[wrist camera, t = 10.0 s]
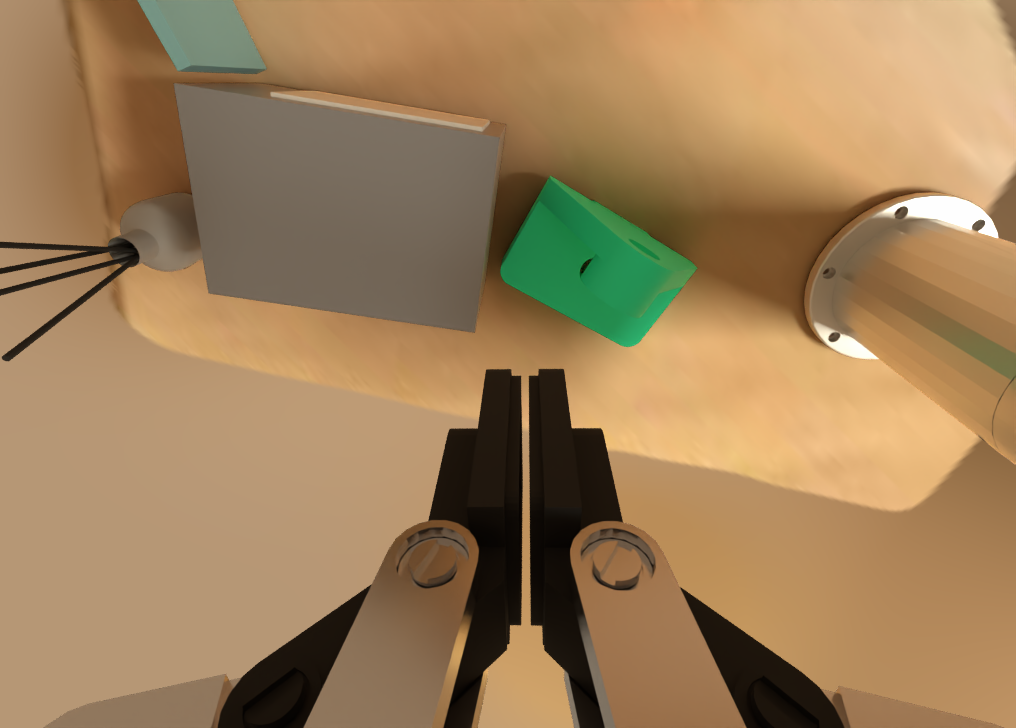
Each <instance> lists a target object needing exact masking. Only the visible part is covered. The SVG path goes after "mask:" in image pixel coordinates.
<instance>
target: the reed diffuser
mask: <svg viewBox="0 0 1016 728" xmlns="http://www.w3.org/2000/svg"><path fill="white" fill-rule="evenodd" d="M120 232H121V235H120V236H118V237H115V238H113V239H111V240H110V241H109V243H108V247H98V246H77V245H56V244H54V245H53V244H35V243H14V242H0V248H19V249H48V250H76V251H78V250H79V251H87V252H82V253H77V254H72V255H66V256H62V257H57V258H51V259H46V260H41V261H36V262H30V263H25V264H20V265H15V266H10V267H5V268H0V274H3V273H8V272H13V271H18V270H22V269H28V268H32V267H37V266H42V265H47V264H52V263H57V262H62V261H67V260H72V259H76V258H81V257H87V256H92V255H97V254H102V253H107V252H109V253H110V255H111V257H112V258H113V259H114V260H111V261H107V262H104V263H100V264H96V265H92V266H88V267H84V268H81V269H77V270H73V271H69V272H65V273H62V274H58V275H54V276H50V277H46V278H42V279H38V280H35V281H31V282H27V283H23V284H19V285H16V286H12V287H8V288H4V289H0V296H1V295H4V294H8V293H11V292H15V291H19V290H23V289H26V288H30V287H33V286H37V285H41V284H45V283H48V282H52V281H56V280H59V279H63V278H66V277H70V276H74V275H77V274H81V273H85V272H89V271H92V270H96V269H100V268H104V267H107V266H111V265H115V264H118V263H119V264H121V265H122V266H121V267H120V268H118V269H117V270H116V271H115V272H113V273H112V274H111V275H109V276H108V277H107V278H105V279H104V280H103V281H101V282H100V283H99V284H98V285H96V286H95V287H93V288H92V289H91V290H90V291H88V292H87V293H85V294H84V295H83V296H81V297H80V298H79V299H78V300H76V301H75V302H74V303H73V304H71V305H70V306H68V307H67V308H66V309H64V310H63V311H62V312H60V313H59V314H58V315H56V316H55V317H54V318H53V319H51V320H50V321H48V322H47V323H46V324H44V325H43V326H42V327H41V328H39V329H38V330H37V331H35V332H34V333H33V334H31V335H30V336H29V337H28V338H26V339H25V340H23V341H22V342H21V343H19V344H18V345H17V346H15V347H14V348H13V349H11V350H10V351H9V352H7V353H6V354H5V355H4V356H2V359H3V360H5V361H10V360H11V359H12V358H14V357H15V356H16V355H18V354H19V353H20V352H21V351H23V350H24V349H25V348H26V347H28V346H29V345H30V344H31V343H33V342H34V341H35V340H37V339H38V338H39V337H41V336H42V335H43V334H44V333H45V332H47V331H48V330H49V329H51V328H52V327H53V326H55V325H56V324H57V323H58V322H60V321H61V320H62V319H63V318H65V317H66V316H67V315H68V314H70V313H71V312H72V311H74V310H75V309H76V308H77V307H79V306H80V305H81V304H83V303H84V302H85V301H86V300H87V299H89V298H90V297H92V296H93V295H94V294H95V293H97V292H98V291H99V290H101V289H102V288H103V287H104V286H106V285H107V284H108V283H109V282H111V281H112V280H113V279H115V278H116V277H117V276H118V275H120V274H121V273H122V272H123V271H125V270H126V269H127V268H129V267H134V266H136V265H138V264H141V263H143V264H144V265H146V266H148V267H150V268H153V269H156V270H160V271H178V270H182V269H185V268H187V267H189V266H191V265H192V264H194V263H196V262H197V261H199V260H201V259H202V258H203V256H202V250H201V244H200V238H199V232H198V226H197V220H196V214H195V208H194V202H193V196H192V195H190V194H186V193H171V194H167V195H163V196H159V197H154V198H150V199H146V200H143V201H140V202H138V203H136V204H134V205H132V206H130V207H129V208H128V209H127V210H126V211H125V213H124V214H123V216H122V218H121V222H120Z"/></svg>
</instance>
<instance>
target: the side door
mask: <svg viewBox="0 0 1016 728" xmlns="http://www.w3.org/2000/svg"><path fill="white" fill-rule="evenodd" d="M137 1H138V3H139V4H140V6H141V8H142V10H143V11H144V13H145V15H146V17H147V18H148V20H149V22H150V24H151V25H152V27H153V29H154V31H155V32H156V34H157V36H158V38H159V39H160V41H161V43H162V45H163V46H164V48H165V50H166V51H167V53H168V55H169V57H170V58H171V60H172V62H173V64H174V65H175V67H176V69H177V71H183V72H212V73H241V74H257V73H260V72H262V71H264V70H266V69H267V68H266V66H265V64H264V62H263V60H262V58H261V56H260V54H259V52H258V50H257V48H256V46H255V44H254V42H253V40H252V38H251V36H250V34H249V32H248V30H247V28H246V26H245V24H244V22H243V20H242V18H241V16H240V14H239V12H238V10H237V8H236V6H235V4H234V2H233V0H137Z"/></svg>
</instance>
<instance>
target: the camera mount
mask: <svg viewBox="0 0 1016 728" xmlns="http://www.w3.org/2000/svg"><path fill="white" fill-rule="evenodd" d="M591 258H593V259H592V260H591V262H590V263H589V265H588V266H587V268H586V269H585V271H584V272H583V274H582V273H581V272H580V269H581V267H582V265H583V264H584V263H585V262H586V261H587V260H589V259H591ZM696 270H697V267H696V266H695V265H694V264H693V263H692V262H691V261H690V260H688V259H687V258H685V257H683V256H682V255H680V254H678V253H677V252H675V251H673V250H672V249H670V248H669V247H667V246H665V245H664V244H662V243H660V242H659V241H657V240H655V239H654V238H652V237H650V235H649V234H648V233H647V232H645V231H643V230H642V229H640V228H639V227H637V226H635V225H634V224H632V223H630V222H629V221H627V220H625V219H624V218H622V217H621V216H619V215H617V214H616V213H614V212H612V211H611V210H609V209H607V208H606V207H604V206H602V205H601V204H599V203H598V202H596V201H594V200H593V201H591V200H590V199H588V198H586V197H585V196H583V195H582V194H580V193H578V192H577V191H575V190H573V189H572V188H570V187H568V186H567V185H565V184H564V183H562V182H560V181H559V180H557V179H555V178H554V177H552V176H549V178H548V180H547V182H546V183H545V185H544V187H543V189H542V190H541V192H540V194H539V196H538V197H537V199H536V201H535V203H534V205H533V206H532V208H531V210H530V212H529V213H528V215H527V217H526V219H525V220H524V222H523V224H522V226H521V227H520V229H519V231H518V233H517V234H516V236H515V238H514V240H513V241H512V243H511V245H510V247H509V248H508V250H507V252H506V254H505V255H504V257H503V259H502V263H501V270H500V273H501V277H502V279H503V280H504V282H505V283H507V284H508V285H510V286H512V287H514V288H516V289H518V290H519V291H521V292H523V293H525V294H527V295H529V296H531V297H532V298H534V299H536V300H538V301H540V302H542V303H544V304H545V305H547V306H549V307H551V308H553V309H555V310H556V311H558V312H560V313H562V314H564V315H566V316H568V317H569V318H571V319H573V320H575V321H577V322H579V323H581V324H582V325H584V326H586V327H588V328H590V329H592V330H593V331H595V332H597V333H599V334H601V335H603V336H605V337H606V338H608V339H610V340H612V341H614V342H616V343H617V344H619V345H621V346H624V347H630V346H634V345H636V344H638V343H639V342H640V341H641V339H642V338H643V337H644V336H645V334H646V333H647V332H648V331H649V329H650V328H651V327H652V325H653V324H654V323H655V322H656V320H657V319H658V318H659V317H660V315H661V314H662V313H663V312H664V310H665V309H666V308H667V306H668V305H669V304H670V303H671V301H672V300H673V299H674V298H675V296H676V295H677V294H678V292H679V291H680V290H681V289H682V287H683V286H684V285H685V284H686V282H687V281H688V280H689V279H690V277H691V276H692V275H693V273H694V272H695V271H696Z"/></svg>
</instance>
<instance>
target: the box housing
mask: <svg viewBox="0 0 1016 728" xmlns="http://www.w3.org/2000/svg"><path fill="white" fill-rule="evenodd" d="M174 89H175V95H176V101H177V107H178V113H179V119H180V125H181V131H182V137H183V143H184V149H185V155H186V161H187V167H188V173H189V179H190V185H191V190H192V196H193V202H194V208H195V214H196V220H197V226H198V232H199V238H200V244H201V250H202V256H203V262H204V268H205V274H206V280H207V286H208V292H209V293H210V294H216V295H223V296H230V297H237V298H243V299H250V300H257V301H264V302H270V303H277V304H284V305H291V306H298V307H304V308H311V309H318V310H325V311H331V312H338V313H345V314H352V315H358V316H365V317H372V318H379V319H385V320H392V321H399V322H406V323H412V324H419V325H426V326H433V327H440V328H446V329H453V330H460V331H467V332H473V333H475V329H476V324H477V319H478V315H479V310H480V305H481V300H482V295H483V290H484V286H485V281H486V273H487V265H488V258H489V250H490V243H491V235H492V228H493V220H494V213H495V205H496V197H497V190H498V182H499V175H500V167H501V160H502V152H503V145H504V137H505V129H506V124H501V123H495V122H490V120H487V119H481V118H475V117H469V116H463V115H457V114H452V113H446V112H440V111H434V110H428V109H422V108H416V107H410V106H404V105H398V104H392V103H386V102H380V101H374V100H368V99H362V98H356V97H350V96H344V95H338V94H332V93H327V92H321V91H315V90H313V91H304V90H298V89H292V88H286V87H281V86H275V85H269V84H263V83H174Z"/></svg>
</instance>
